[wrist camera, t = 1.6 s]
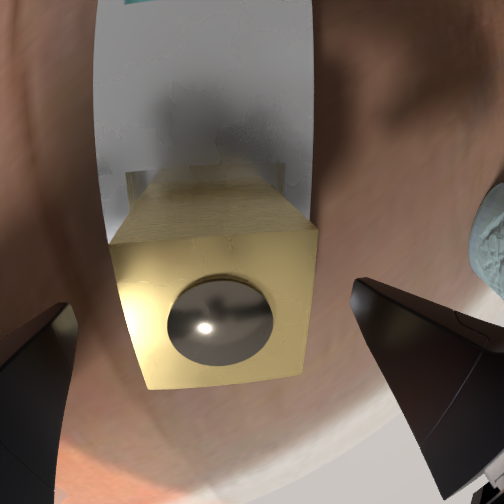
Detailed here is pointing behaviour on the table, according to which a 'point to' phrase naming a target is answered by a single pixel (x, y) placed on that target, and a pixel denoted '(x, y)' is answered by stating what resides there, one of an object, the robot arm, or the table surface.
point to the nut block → (215, 282)
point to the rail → (202, 96)
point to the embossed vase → (489, 240)
